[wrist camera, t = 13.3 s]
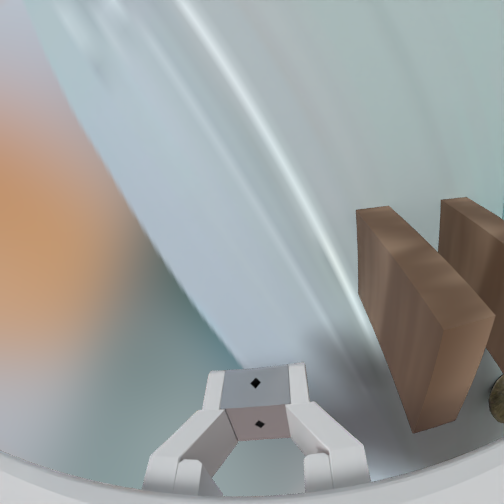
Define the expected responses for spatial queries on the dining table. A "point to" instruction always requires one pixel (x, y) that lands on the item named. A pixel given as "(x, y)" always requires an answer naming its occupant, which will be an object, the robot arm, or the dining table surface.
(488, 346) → the domino
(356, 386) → the dining table surface
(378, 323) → the domino
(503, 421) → the lime
